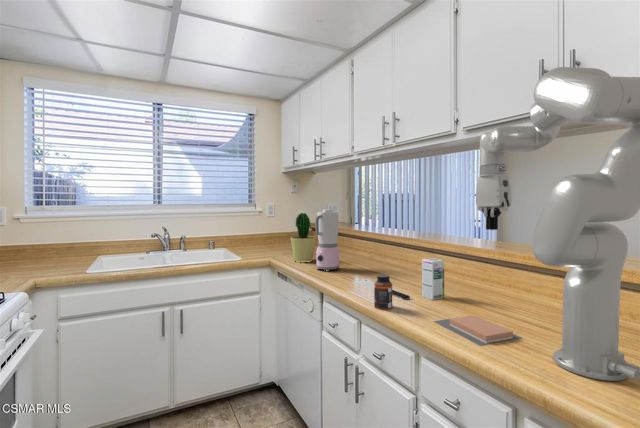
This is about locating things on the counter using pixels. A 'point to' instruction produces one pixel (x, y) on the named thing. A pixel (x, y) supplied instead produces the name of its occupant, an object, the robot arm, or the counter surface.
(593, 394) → the counter surface
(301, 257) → the potted cactus
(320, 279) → the counter surface
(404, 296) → the kitchen cleaver
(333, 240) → the blender
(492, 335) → the tile
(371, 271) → the counter surface
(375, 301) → the supplement bottle
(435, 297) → the syrup box
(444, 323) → the mat
